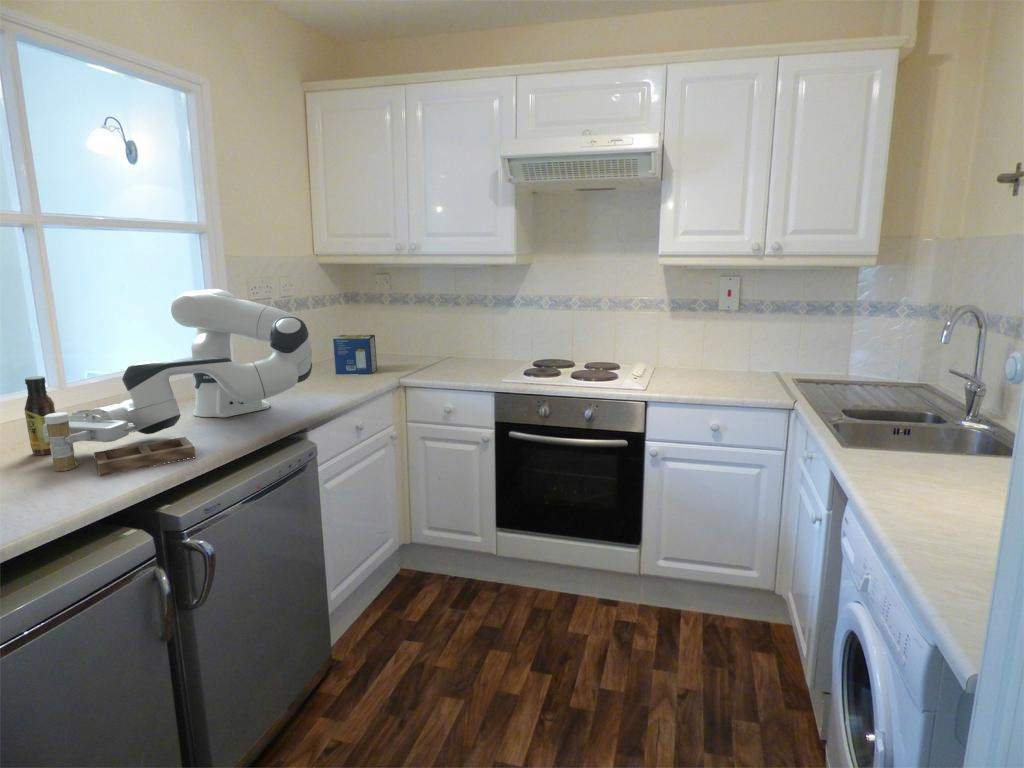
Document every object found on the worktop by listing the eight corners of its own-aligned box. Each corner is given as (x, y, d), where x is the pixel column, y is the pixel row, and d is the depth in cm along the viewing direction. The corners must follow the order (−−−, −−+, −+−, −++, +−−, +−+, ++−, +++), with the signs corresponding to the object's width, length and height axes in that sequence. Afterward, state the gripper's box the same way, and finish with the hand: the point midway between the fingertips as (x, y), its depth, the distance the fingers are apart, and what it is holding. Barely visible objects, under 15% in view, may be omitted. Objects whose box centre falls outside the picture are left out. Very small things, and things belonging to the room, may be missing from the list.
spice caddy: (186, 447, 163) (185, 436, 162) (195, 457, 154) (194, 446, 153) (95, 464, 151) (93, 452, 150) (100, 476, 142) (98, 463, 142)
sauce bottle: (30, 452, 161) (16, 377, 157) (59, 447, 165) (46, 373, 161) (34, 458, 156) (20, 380, 152) (64, 452, 161) (51, 377, 157)
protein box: (342, 370, 270) (339, 334, 267) (377, 369, 270) (375, 334, 266) (334, 374, 260) (332, 338, 257) (371, 374, 259) (368, 337, 256)
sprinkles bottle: (61, 465, 150) (51, 412, 147) (81, 465, 150) (72, 411, 148) (49, 472, 145) (39, 416, 143) (69, 471, 146) (60, 416, 143)
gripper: (142, 437, 157) (95, 454, 144) (75, 434, 162) (24, 450, 148) (138, 413, 156) (91, 428, 143) (71, 410, 160) (19, 424, 147)
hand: (56, 439), depth 146 cm, fingers closed on sprinkles bottle, 4 cm apart
